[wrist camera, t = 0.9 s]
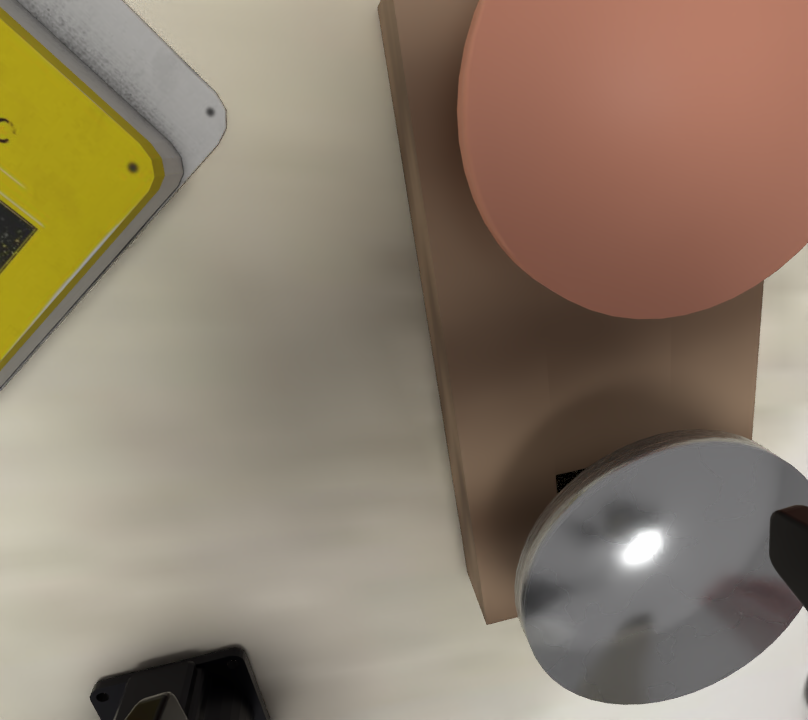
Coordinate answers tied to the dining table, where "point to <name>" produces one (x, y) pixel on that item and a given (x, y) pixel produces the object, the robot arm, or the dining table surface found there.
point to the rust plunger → (639, 145)
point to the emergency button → (85, 152)
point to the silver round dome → (658, 567)
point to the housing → (533, 332)
